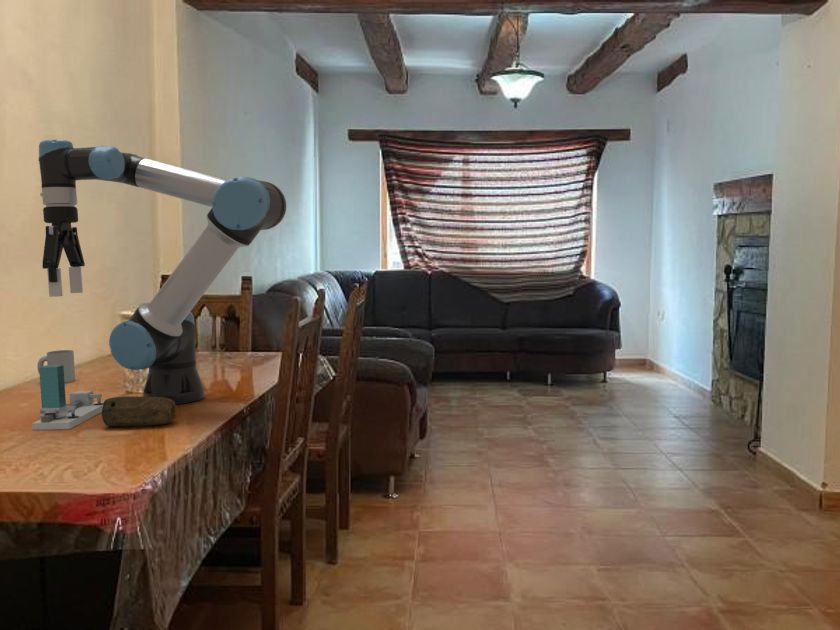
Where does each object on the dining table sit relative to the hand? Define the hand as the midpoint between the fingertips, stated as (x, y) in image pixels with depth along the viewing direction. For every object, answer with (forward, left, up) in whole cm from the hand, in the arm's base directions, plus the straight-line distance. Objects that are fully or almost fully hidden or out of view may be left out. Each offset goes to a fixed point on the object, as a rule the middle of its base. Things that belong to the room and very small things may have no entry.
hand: (66, 294), depth 187 cm
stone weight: (-23, +18, -29) cm, 41 cm away
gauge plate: (-5, +10, -28) cm, 30 cm away
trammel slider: (-4, +16, -26) cm, 31 cm away
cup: (+22, -39, -28) cm, 53 cm away
